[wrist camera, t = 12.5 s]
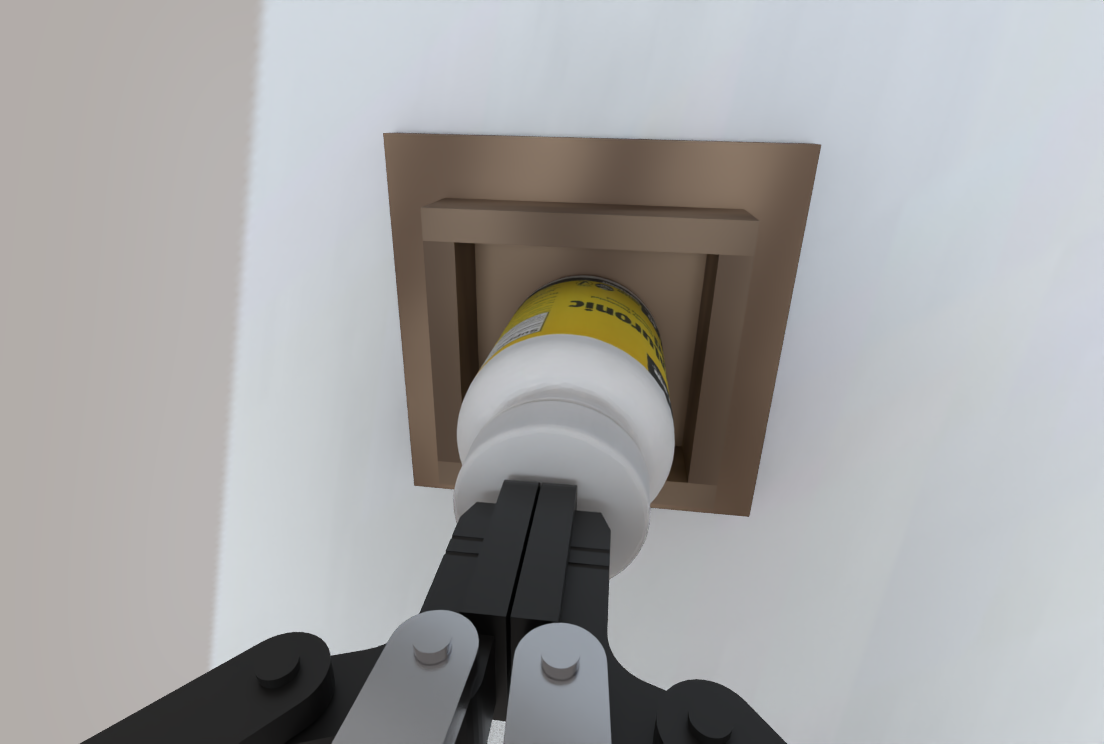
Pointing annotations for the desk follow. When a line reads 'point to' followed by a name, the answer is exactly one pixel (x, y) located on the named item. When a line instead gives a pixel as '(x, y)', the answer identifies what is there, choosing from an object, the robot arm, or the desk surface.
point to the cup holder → (603, 276)
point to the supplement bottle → (573, 408)
